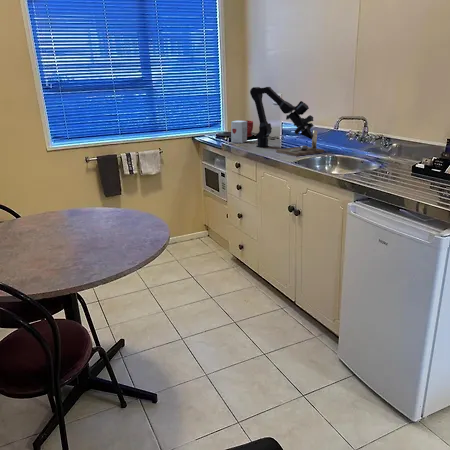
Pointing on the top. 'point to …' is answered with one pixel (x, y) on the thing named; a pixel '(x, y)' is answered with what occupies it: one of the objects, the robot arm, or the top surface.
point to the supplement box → (239, 131)
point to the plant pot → (249, 128)
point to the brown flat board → (299, 151)
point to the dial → (314, 142)
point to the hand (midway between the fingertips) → (312, 138)
